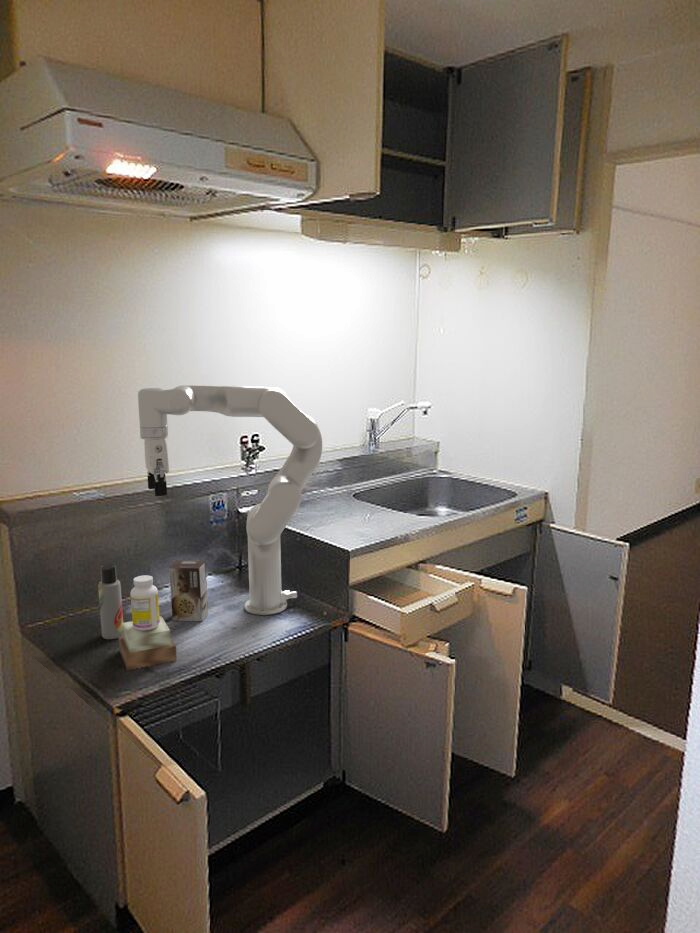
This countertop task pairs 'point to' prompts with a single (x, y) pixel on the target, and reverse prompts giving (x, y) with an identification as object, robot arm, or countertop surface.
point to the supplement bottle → (144, 604)
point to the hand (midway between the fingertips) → (157, 492)
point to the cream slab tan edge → (146, 646)
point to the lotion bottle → (110, 603)
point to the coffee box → (188, 590)
